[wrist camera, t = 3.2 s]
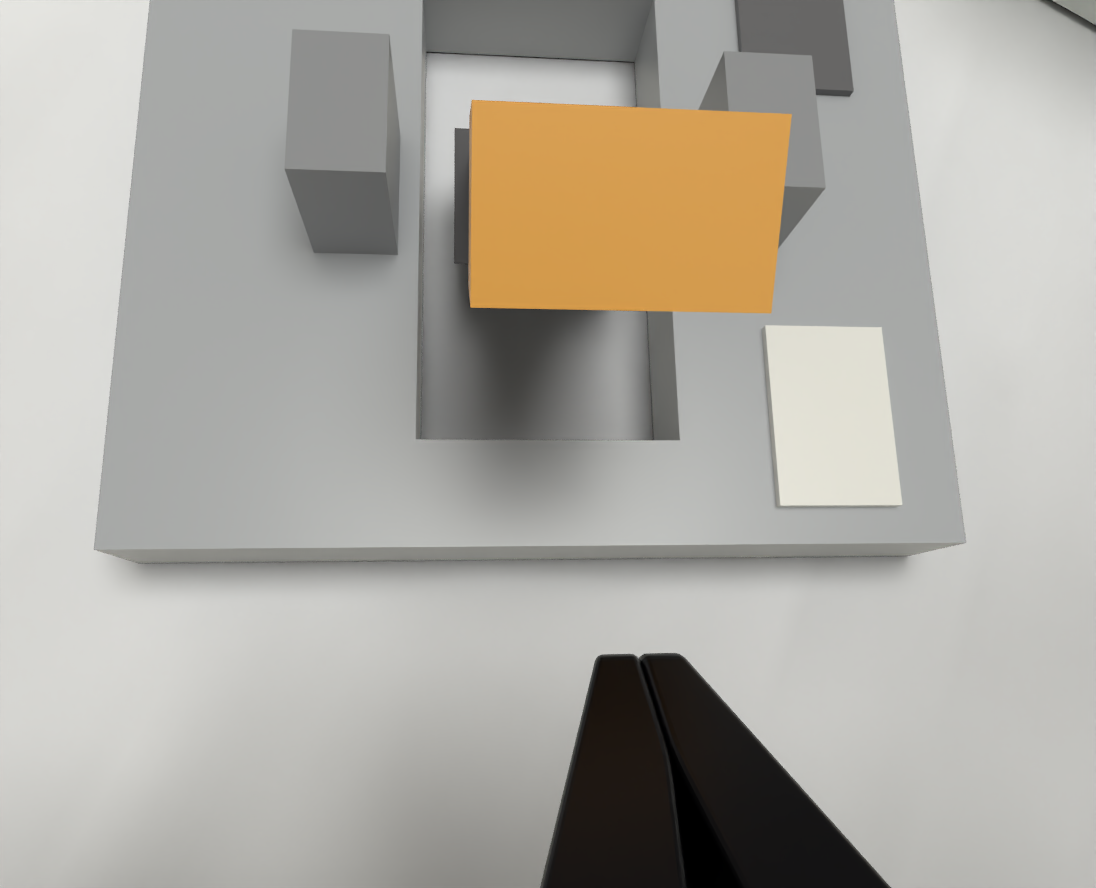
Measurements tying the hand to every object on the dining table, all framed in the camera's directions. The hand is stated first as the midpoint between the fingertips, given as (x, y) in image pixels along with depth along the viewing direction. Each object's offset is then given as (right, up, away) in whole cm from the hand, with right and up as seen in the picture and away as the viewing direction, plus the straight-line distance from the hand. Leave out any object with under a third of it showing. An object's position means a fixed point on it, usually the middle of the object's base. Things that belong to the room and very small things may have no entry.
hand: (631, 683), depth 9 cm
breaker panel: (-1, +7, +11) cm, 13 cm away
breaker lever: (-1, +7, +9) cm, 12 cm away
